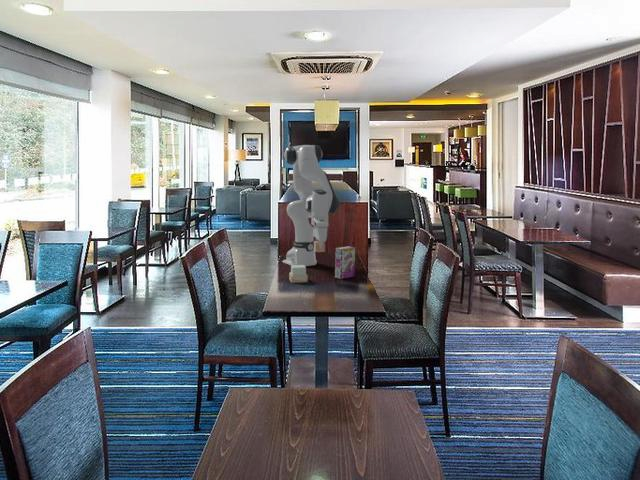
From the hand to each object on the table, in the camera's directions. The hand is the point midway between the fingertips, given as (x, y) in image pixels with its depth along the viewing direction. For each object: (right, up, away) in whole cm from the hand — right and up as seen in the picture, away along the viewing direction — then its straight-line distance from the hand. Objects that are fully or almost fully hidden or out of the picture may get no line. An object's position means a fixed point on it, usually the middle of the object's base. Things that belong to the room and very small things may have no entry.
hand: (319, 247), depth 296 cm
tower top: (-11, -14, -1) cm, 18 cm away
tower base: (-11, -18, -1) cm, 21 cm away
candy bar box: (+14, -17, +7) cm, 23 cm away
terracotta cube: (0, -2, 0) cm, 2 cm away
